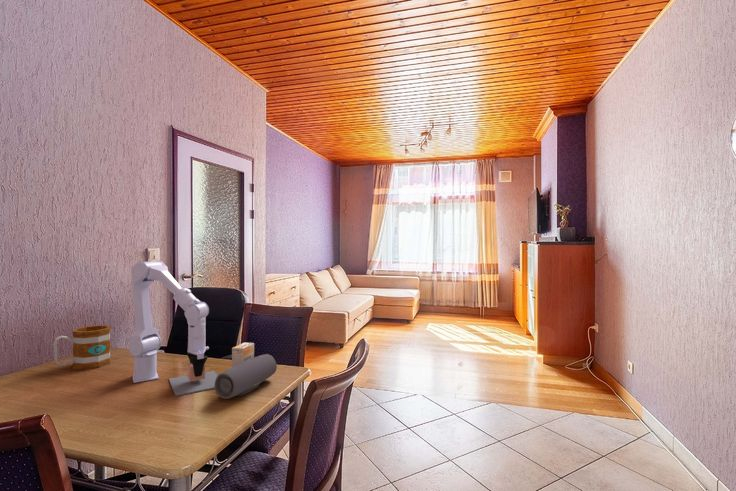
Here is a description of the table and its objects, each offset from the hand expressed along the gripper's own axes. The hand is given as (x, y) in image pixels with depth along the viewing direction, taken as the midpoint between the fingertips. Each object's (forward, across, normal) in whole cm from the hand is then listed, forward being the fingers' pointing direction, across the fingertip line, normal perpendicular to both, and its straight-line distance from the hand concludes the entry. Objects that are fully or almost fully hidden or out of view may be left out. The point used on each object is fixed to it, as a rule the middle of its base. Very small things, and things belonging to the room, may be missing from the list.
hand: (196, 373), depth 136 cm
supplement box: (+4, -6, -15) cm, 17 cm away
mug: (+4, +45, +35) cm, 57 cm away
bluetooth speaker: (+4, -16, -14) cm, 21 cm away
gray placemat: (+3, 0, 0) cm, 3 cm away
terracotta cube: (+2, 0, 0) cm, 2 cm away
